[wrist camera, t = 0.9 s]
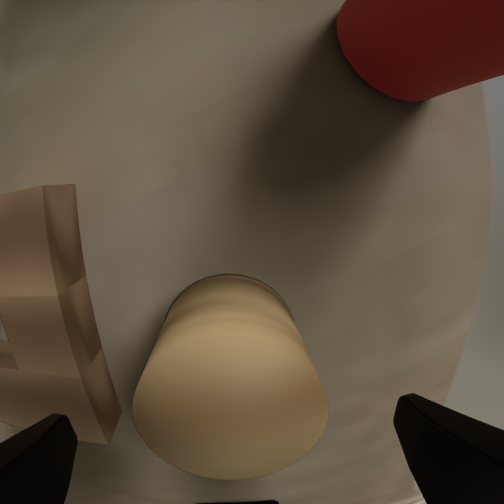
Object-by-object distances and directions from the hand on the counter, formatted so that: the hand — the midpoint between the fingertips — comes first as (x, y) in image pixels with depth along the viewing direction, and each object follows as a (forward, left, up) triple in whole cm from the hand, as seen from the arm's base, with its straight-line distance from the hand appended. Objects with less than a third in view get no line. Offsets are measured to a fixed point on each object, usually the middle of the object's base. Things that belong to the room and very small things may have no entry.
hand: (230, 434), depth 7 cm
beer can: (+13, -9, -8) cm, 18 cm away
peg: (0, 0, -8) cm, 8 cm away
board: (0, +13, -8) cm, 15 cm away
